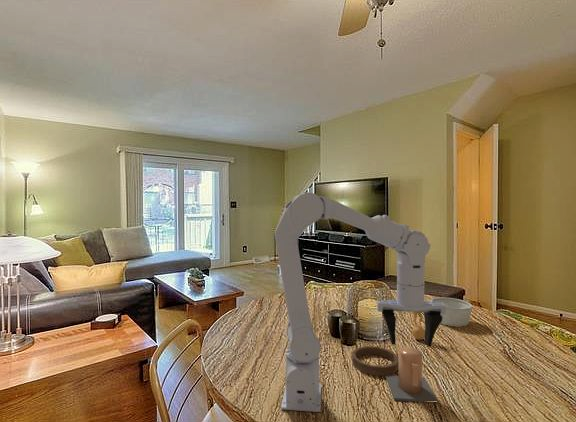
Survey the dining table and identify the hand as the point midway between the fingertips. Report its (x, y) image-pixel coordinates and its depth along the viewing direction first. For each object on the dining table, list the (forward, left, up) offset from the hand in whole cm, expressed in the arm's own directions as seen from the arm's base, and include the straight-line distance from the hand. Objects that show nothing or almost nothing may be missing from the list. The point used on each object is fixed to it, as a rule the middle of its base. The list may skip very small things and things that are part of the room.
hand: (410, 343), depth 70 cm
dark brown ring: (+11, +6, -10) cm, 16 cm away
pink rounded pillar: (0, 0, -10) cm, 10 cm away
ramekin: (+45, -26, -11) cm, 53 cm away
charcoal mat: (0, 0, -10) cm, 10 cm away
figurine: (+29, -10, -11) cm, 32 cm away
